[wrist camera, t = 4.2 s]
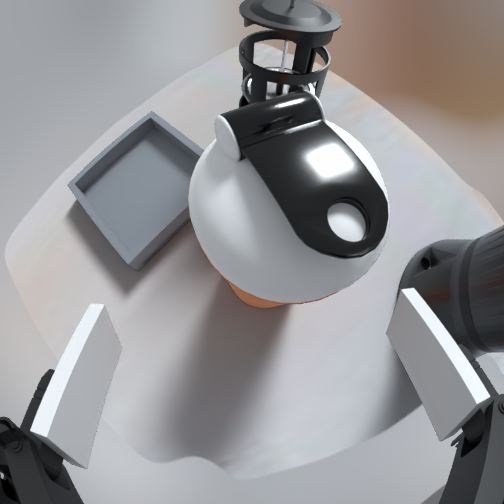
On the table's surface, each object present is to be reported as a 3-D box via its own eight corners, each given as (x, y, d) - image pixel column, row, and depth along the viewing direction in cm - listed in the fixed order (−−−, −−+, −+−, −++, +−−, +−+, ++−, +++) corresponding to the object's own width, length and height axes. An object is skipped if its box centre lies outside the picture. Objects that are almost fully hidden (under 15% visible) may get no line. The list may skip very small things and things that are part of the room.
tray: (229, 184, 31) (228, 169, 28) (138, 271, 28) (128, 264, 25) (157, 125, 33) (151, 111, 30) (78, 195, 30) (67, 185, 27)
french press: (283, 168, 31) (328, -24, 9) (218, 132, 33) (204, -45, 10) (327, 114, 34) (378, -32, 12) (270, 85, 35) (287, -58, 13)
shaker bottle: (254, 335, 26) (284, 355, 7) (202, 262, 28) (132, 133, 9) (325, 282, 28) (457, 196, 9) (273, 214, 30) (314, 54, 10)
